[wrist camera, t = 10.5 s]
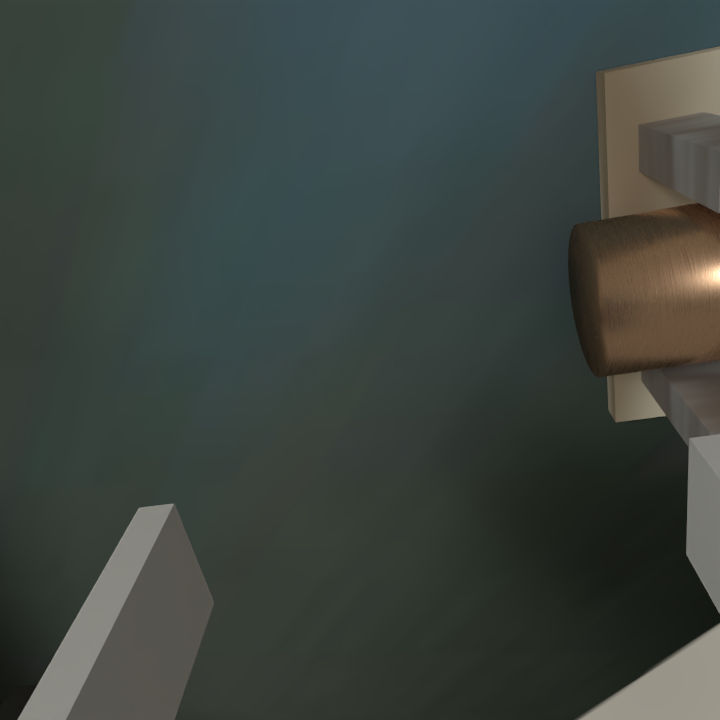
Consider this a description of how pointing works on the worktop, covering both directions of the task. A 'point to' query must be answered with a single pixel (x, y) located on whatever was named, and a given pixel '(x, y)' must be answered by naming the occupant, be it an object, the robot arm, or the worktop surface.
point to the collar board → (662, 202)
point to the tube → (647, 289)
